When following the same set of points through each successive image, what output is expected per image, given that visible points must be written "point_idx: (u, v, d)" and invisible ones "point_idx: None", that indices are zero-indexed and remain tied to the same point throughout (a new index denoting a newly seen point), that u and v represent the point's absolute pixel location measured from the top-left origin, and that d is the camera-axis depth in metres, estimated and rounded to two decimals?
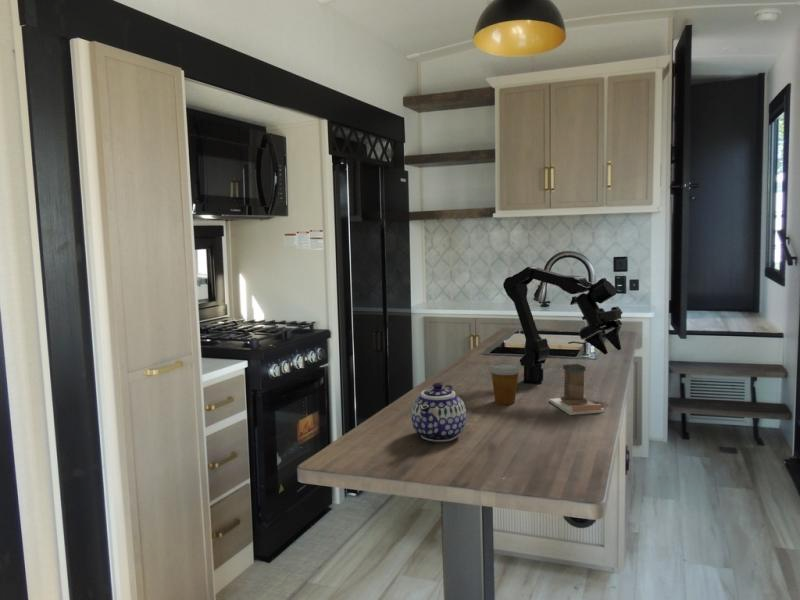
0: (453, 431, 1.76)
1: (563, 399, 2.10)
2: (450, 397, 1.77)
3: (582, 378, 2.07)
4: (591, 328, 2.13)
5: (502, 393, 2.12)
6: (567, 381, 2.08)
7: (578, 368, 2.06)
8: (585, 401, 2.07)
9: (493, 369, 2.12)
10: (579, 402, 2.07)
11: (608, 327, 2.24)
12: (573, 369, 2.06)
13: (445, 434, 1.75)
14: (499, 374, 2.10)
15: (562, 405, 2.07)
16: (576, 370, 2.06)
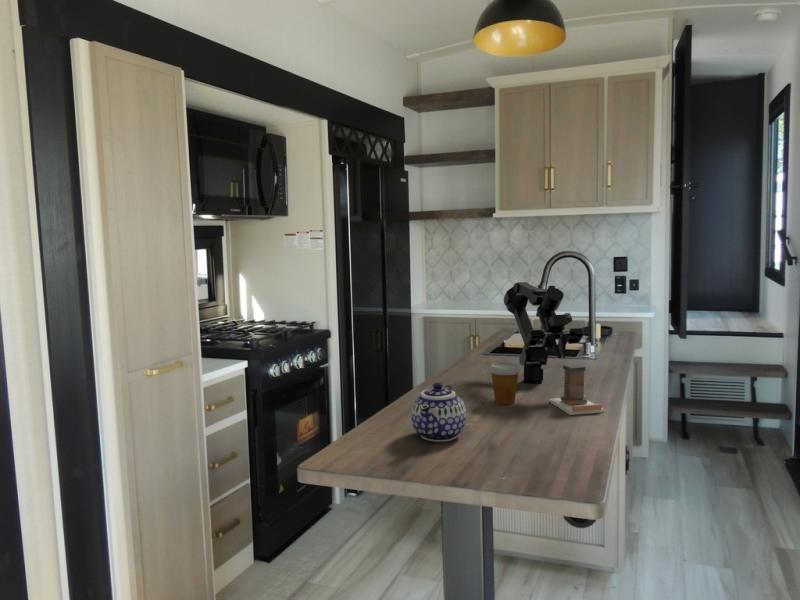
0: (453, 431, 1.76)
1: (563, 399, 2.10)
2: (450, 397, 1.77)
3: (582, 378, 2.07)
4: (530, 333, 2.18)
5: (502, 393, 2.12)
6: (567, 381, 2.08)
7: (578, 368, 2.06)
8: (585, 401, 2.07)
9: (493, 369, 2.12)
10: (579, 402, 2.07)
11: (556, 336, 2.21)
12: (573, 369, 2.06)
13: (445, 434, 1.75)
14: (499, 374, 2.10)
15: (562, 405, 2.07)
16: (576, 370, 2.06)
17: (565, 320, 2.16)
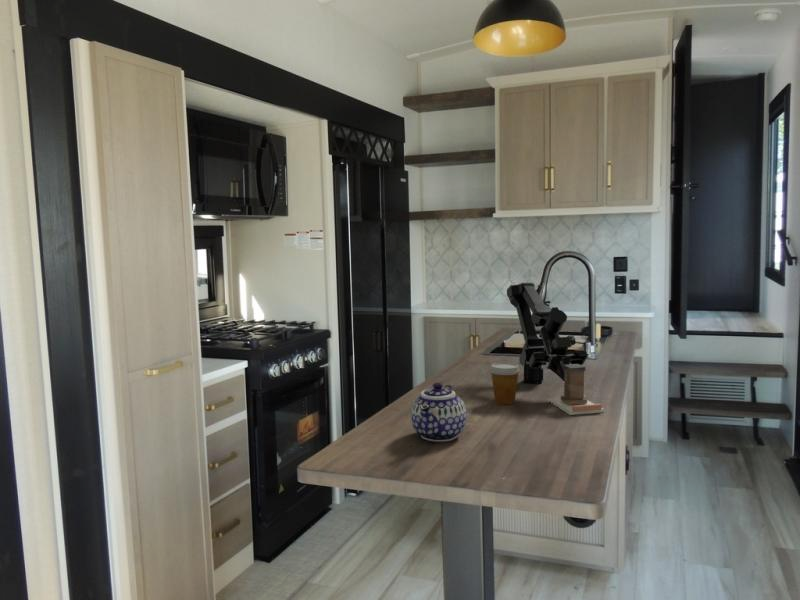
0: (453, 431, 1.76)
1: (563, 399, 2.10)
2: (450, 397, 1.77)
3: (582, 378, 2.07)
4: (533, 355, 2.16)
5: (502, 393, 2.12)
6: (567, 381, 2.08)
7: (578, 368, 2.06)
8: (585, 401, 2.07)
9: (493, 369, 2.12)
10: (579, 402, 2.07)
11: None
12: (573, 369, 2.06)
13: (445, 434, 1.75)
14: (499, 374, 2.10)
15: (562, 405, 2.07)
16: (576, 370, 2.06)
17: (569, 343, 2.14)
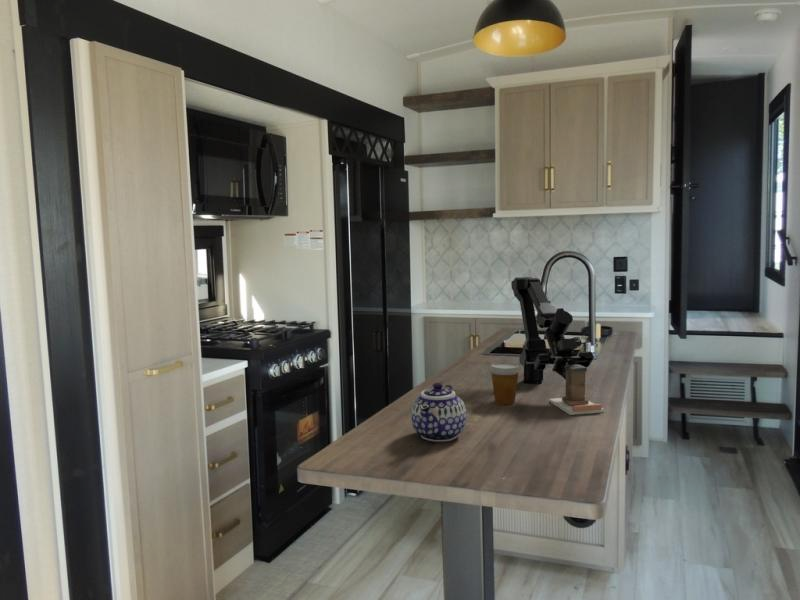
0: (453, 431, 1.76)
1: (564, 400, 2.09)
2: (450, 397, 1.77)
3: (583, 379, 2.06)
4: (538, 357, 2.12)
5: (502, 393, 2.12)
6: (568, 382, 2.08)
7: (579, 369, 2.05)
8: (586, 402, 2.06)
9: (493, 369, 2.12)
10: (580, 403, 2.06)
11: None
12: (574, 370, 2.05)
13: (445, 434, 1.75)
14: (499, 374, 2.10)
15: (562, 405, 2.07)
16: (577, 371, 2.05)
17: (574, 344, 2.10)
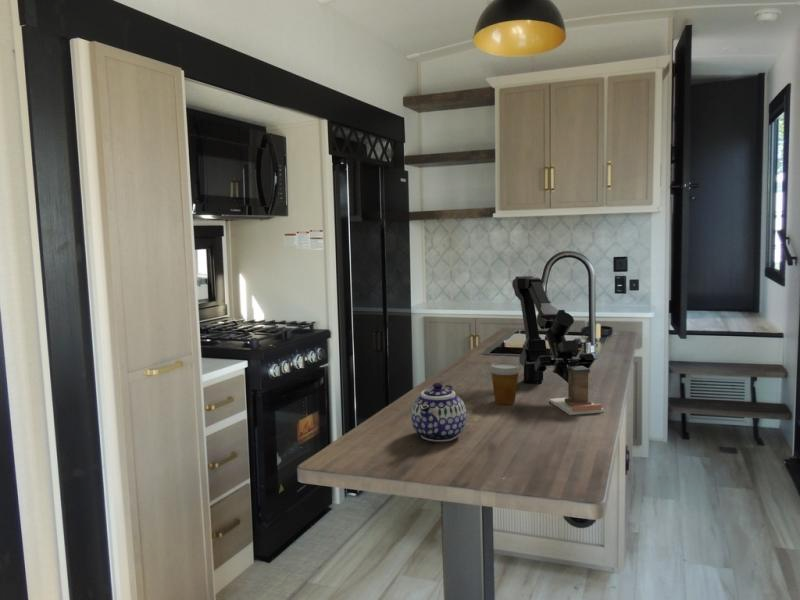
0: (453, 431, 1.76)
1: (567, 401, 2.07)
2: (450, 397, 1.77)
3: (586, 380, 2.04)
4: (539, 359, 2.12)
5: (502, 393, 2.12)
6: (571, 383, 2.06)
7: (582, 370, 2.03)
8: (589, 403, 2.04)
9: (493, 369, 2.12)
10: (583, 404, 2.04)
11: (564, 362, 2.15)
12: (577, 371, 2.03)
13: (445, 434, 1.75)
14: (499, 374, 2.10)
15: (562, 405, 2.07)
16: (580, 372, 2.03)
17: (575, 346, 2.10)
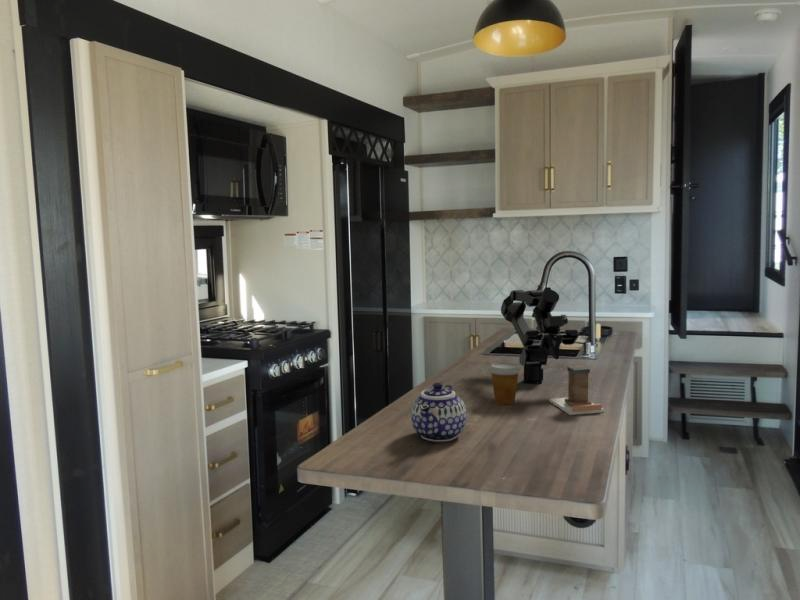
0: (453, 431, 1.76)
1: (567, 401, 2.07)
2: (450, 397, 1.77)
3: (586, 380, 2.04)
4: (526, 333, 2.22)
5: (502, 393, 2.12)
6: (571, 383, 2.06)
7: (582, 370, 2.03)
8: (589, 403, 2.04)
9: (493, 369, 2.12)
10: (583, 404, 2.04)
11: None
12: (577, 371, 2.03)
13: (445, 434, 1.75)
14: (499, 374, 2.10)
15: (562, 405, 2.07)
16: (580, 372, 2.03)
17: (561, 322, 2.20)
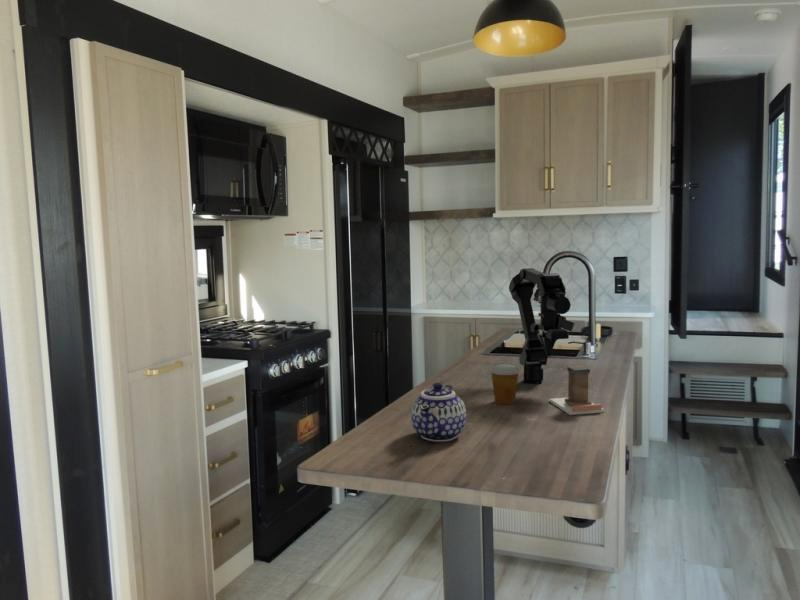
0: (453, 431, 1.76)
1: (567, 401, 2.07)
2: (450, 397, 1.77)
3: (586, 380, 2.04)
4: (567, 334, 2.18)
5: (502, 393, 2.12)
6: (571, 383, 2.06)
7: (582, 370, 2.03)
8: (589, 403, 2.04)
9: (493, 369, 2.12)
10: (583, 404, 2.04)
11: None
12: (577, 371, 2.03)
13: (445, 434, 1.75)
14: (499, 374, 2.10)
15: (562, 405, 2.07)
16: (580, 372, 2.03)
17: None
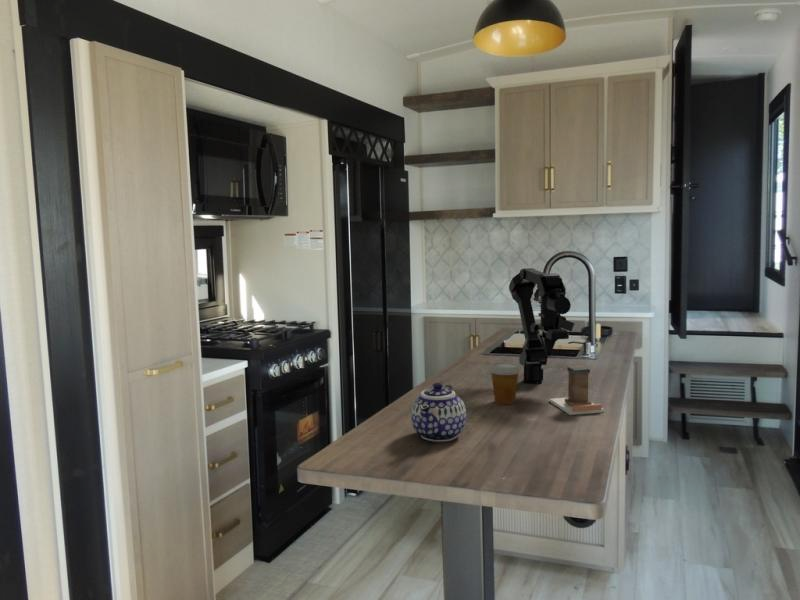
0: (453, 431, 1.76)
1: (567, 401, 2.07)
2: (450, 397, 1.77)
3: (586, 380, 2.04)
4: (567, 334, 2.18)
5: (502, 393, 2.12)
6: (571, 383, 2.06)
7: (582, 370, 2.03)
8: (589, 403, 2.04)
9: (493, 369, 2.12)
10: (583, 404, 2.04)
11: None
12: (577, 371, 2.03)
13: (445, 434, 1.75)
14: (499, 374, 2.10)
15: (562, 405, 2.07)
16: (580, 372, 2.03)
17: None
